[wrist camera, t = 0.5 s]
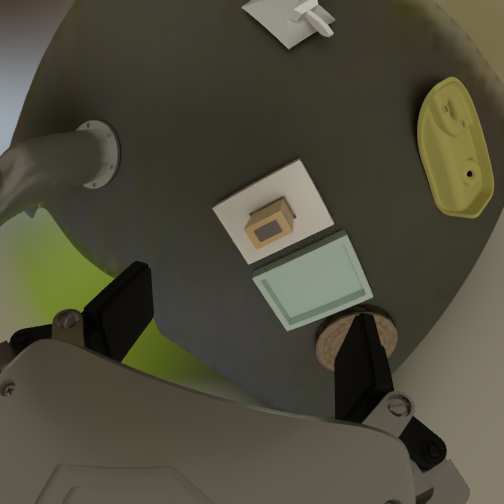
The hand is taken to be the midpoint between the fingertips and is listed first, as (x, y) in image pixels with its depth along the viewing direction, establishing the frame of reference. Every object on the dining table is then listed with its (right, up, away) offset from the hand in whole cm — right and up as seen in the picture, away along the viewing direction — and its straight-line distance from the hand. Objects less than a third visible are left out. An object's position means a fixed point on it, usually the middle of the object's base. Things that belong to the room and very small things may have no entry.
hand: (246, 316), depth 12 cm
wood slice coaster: (+20, -13, +37) cm, 44 cm away
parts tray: (+10, -2, +33) cm, 34 cm away
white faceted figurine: (+6, +35, +16) cm, 39 cm away
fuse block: (+4, +9, +29) cm, 30 cm away
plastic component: (+31, +19, +20) cm, 41 cm away
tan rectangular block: (+3, +9, +28) cm, 29 cm away
